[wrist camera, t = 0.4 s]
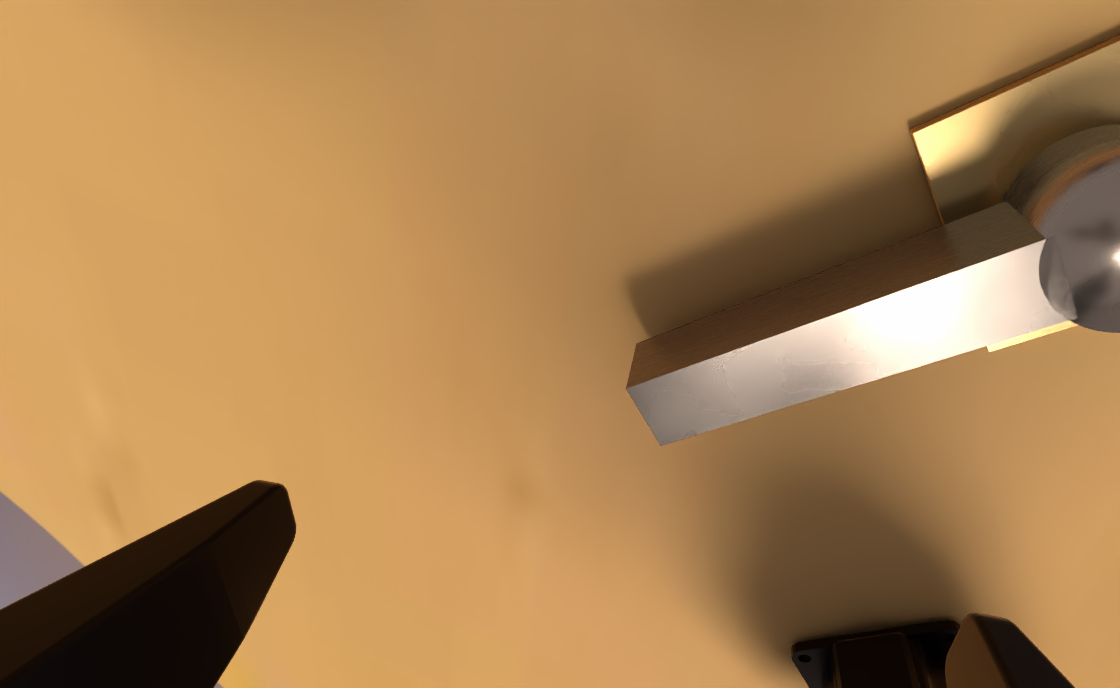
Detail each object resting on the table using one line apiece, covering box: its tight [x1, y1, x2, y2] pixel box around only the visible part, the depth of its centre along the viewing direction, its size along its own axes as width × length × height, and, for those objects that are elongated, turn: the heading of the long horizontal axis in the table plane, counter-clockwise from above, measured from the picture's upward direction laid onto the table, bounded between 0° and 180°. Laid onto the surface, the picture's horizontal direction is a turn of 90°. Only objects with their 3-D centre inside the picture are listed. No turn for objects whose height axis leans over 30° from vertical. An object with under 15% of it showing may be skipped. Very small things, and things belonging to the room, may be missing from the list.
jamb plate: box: [910, 35, 1120, 352], centre depth 17 cm, size 7×6×1 cm
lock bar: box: [626, 124, 1120, 446], centre depth 17 cm, size 14×4×3 cm, turn 121°
